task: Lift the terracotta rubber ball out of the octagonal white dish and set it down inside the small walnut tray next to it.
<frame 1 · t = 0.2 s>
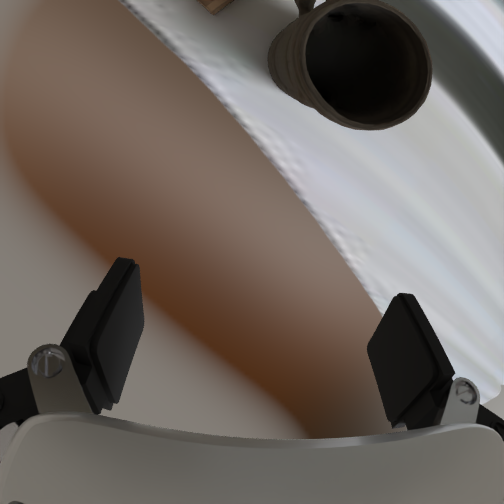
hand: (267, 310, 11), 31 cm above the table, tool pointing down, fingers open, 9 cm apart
beer stein: (305, 51, 31), on the table
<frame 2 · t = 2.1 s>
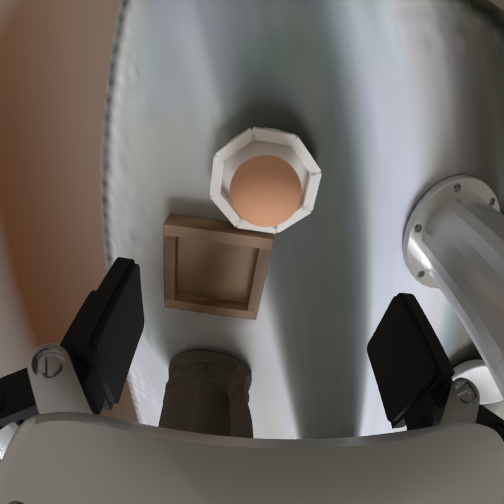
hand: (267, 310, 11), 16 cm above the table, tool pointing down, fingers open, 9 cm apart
spoon rest: (476, 368, 40), on the table
tray: (215, 264, 28), on the table
beer stein: (214, 364, 37), on the table
ball: (264, 180, 23), point 1 cm above the table, touching octagonal white dish
octagonal white dish: (264, 176, 24), on the table
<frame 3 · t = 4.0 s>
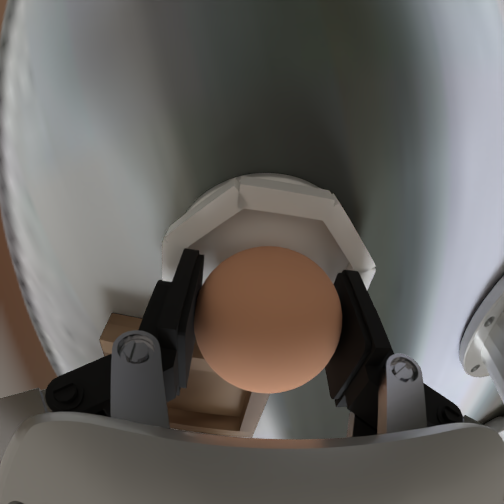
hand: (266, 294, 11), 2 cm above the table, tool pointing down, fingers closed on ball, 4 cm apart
spoon rest: (501, 420, 30), on the table
tray: (191, 375, 18), on the table
ball: (266, 276, 12), point 1 cm above the table, touching octagonal white dish, gripper
octagonal white dish: (265, 263, 13), on the table
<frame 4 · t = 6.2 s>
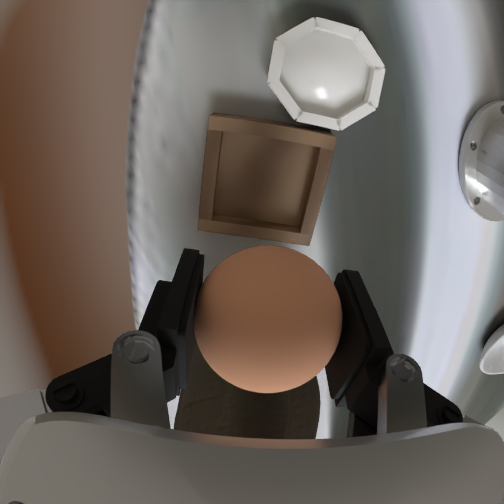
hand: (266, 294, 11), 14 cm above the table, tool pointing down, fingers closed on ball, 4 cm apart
tray: (263, 176, 23), on the table
beer stein: (247, 319, 32), on the table
ball: (266, 276, 12), point 13 cm above the table, touching gripper
octagonal white dish: (323, 73, 19), on the table
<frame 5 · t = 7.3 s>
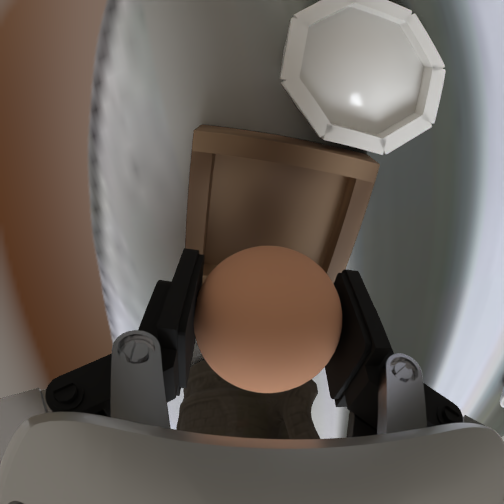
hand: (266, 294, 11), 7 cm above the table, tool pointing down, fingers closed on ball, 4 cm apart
tray: (272, 213, 17), on the table
beer stein: (249, 373, 26), on the table
ball: (266, 276, 12), point 6 cm above the table, touching gripper
octagonal white dish: (359, 70, 13), on the table
when the fingers open (4 cm above the table, at t = 8.4 s): ball drops 2 cm, resting on tray.
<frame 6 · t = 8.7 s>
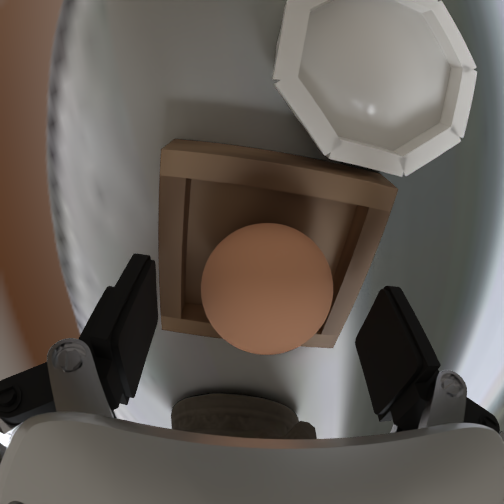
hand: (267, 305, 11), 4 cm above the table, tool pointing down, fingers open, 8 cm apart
tray: (264, 245, 14), on the table
beer stein: (242, 407, 23), on the table
ball: (265, 254, 14), point 1 cm above the table, touching tray
octagonal white dish: (372, 68, 10), on the table
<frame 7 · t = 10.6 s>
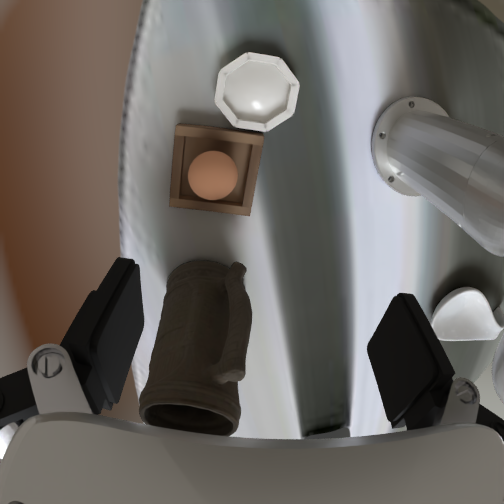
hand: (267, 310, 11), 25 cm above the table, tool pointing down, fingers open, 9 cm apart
spoon rest: (466, 306, 47), on the table
tray: (215, 167, 32), on the table
beer stein: (210, 280, 41), on the table
ball: (215, 168, 32), point 1 cm above the table, touching tray
octagonal white dish: (256, 91, 28), on the table
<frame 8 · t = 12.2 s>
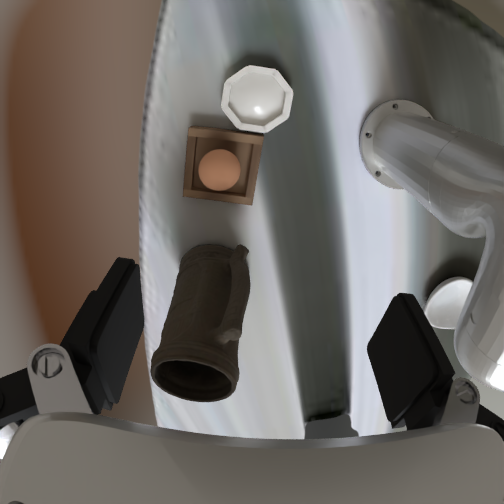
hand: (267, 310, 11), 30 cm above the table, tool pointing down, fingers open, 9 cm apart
spoon rest: (461, 296, 51), on the table
tray: (222, 163, 38), on the table
beer stein: (218, 263, 46), on the table
ball: (222, 164, 37), point 1 cm above the table, touching tray
octagonal white dish: (256, 98, 33), on the table
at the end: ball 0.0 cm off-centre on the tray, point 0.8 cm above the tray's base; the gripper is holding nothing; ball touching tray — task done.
